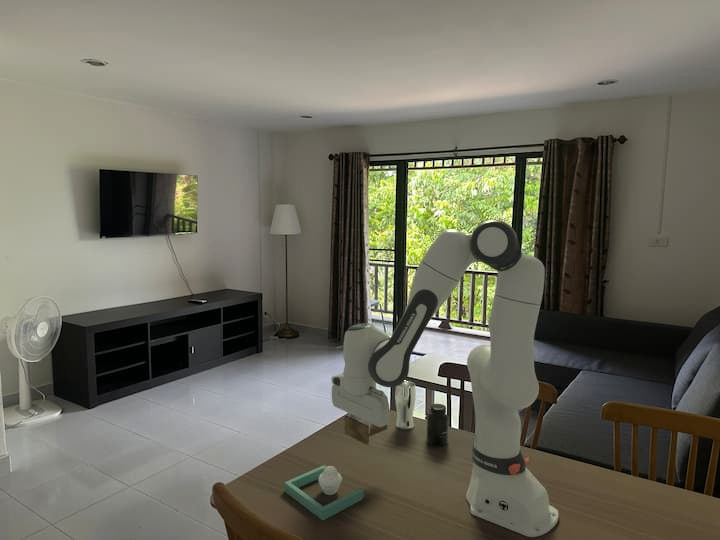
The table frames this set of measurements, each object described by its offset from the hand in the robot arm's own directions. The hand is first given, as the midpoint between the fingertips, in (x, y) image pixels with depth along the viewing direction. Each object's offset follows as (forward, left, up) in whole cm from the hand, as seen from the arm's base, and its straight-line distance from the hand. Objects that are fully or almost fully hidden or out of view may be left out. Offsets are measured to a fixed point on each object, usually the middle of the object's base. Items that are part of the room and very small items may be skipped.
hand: (360, 431), depth 134 cm
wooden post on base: (0, -4, -2) cm, 4 cm away
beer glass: (+14, -34, -14) cm, 39 cm away
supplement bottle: (-1, -33, -14) cm, 36 cm away
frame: (0, +12, -14) cm, 18 cm away
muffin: (0, +10, -14) cm, 17 cm away
